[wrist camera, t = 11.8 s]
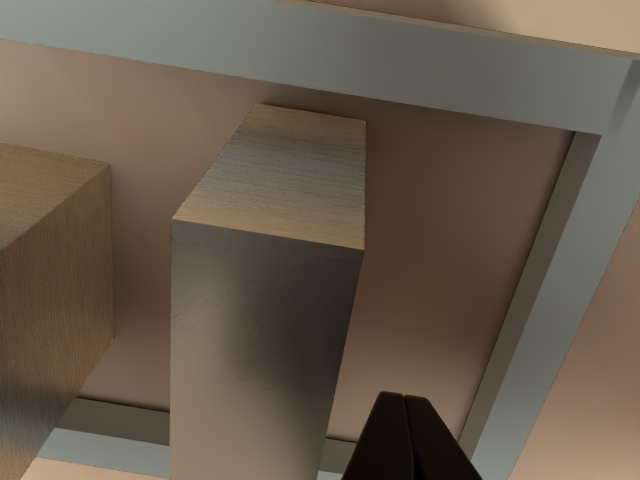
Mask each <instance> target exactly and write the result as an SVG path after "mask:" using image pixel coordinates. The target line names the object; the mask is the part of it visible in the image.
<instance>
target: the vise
mask: <svg viewBox="0 0 640 480" xmlns="http://www.w3.org/2000/svg"><path fill="white" fill-rule="evenodd" d="M0 39H6V40H12V41H18V42H24V43H30V44H37V45H43V46H49V47H55V48H62V49H68V50H74V51H80V52H87V53H93V54H99V55H105V56H111V57H118V58H124V59H130V60H136V61H143V62H149V63H155V64H161V65H168V66H174V67H180V68H186V69H193V70H199V71H205V72H211V73H217V74H224V75H230V76H236V77H242V78H249V79H255V80H261V81H267V82H274V83H280V84H286V85H292V86H298V87H305V88H311V89H317V90H323V91H330V92H336V93H342V94H348V95H355V96H361V97H367V98H373V99H379V100H386V101H392V102H398V103H404V104H411V105H417V106H423V107H429V108H436V109H442V110H448V111H454V112H461V113H467V114H473V115H479V116H485V117H492V118H498V119H504V120H510V121H517V122H523V123H529V124H535V125H542V126H548V127H554V128H560V129H566V130H573V131H576V133H575V135H574V138H573V141H572V143H571V146H570V149H569V151H568V154H567V156H566V159H565V162H564V164H563V167H562V170H561V172H560V175H559V178H558V180H557V183H556V186H555V188H554V191H553V193H552V196H551V199H550V201H549V204H548V207H547V209H546V212H545V215H544V217H543V220H542V223H541V225H540V228H539V230H538V233H537V236H536V238H535V241H534V244H533V246H532V249H531V252H530V254H529V257H528V260H527V262H526V265H525V267H524V270H523V273H522V275H521V278H520V281H519V283H518V286H517V289H516V291H515V294H514V297H513V299H512V302H511V304H510V307H509V310H508V312H507V315H506V318H505V320H504V323H503V326H502V328H501V331H500V334H499V336H498V339H497V341H496V344H495V347H494V349H493V352H492V355H491V357H490V360H489V363H488V365H487V368H486V371H485V373H484V376H483V378H482V381H481V384H480V386H479V389H478V392H477V394H476V397H475V400H474V402H473V405H472V408H471V410H470V413H469V415H468V418H467V421H466V423H465V426H464V429H463V431H462V434H461V437H460V439H459V442H458V444H459V445H460V447H461V448H462V450H463V451H464V453H465V454H466V455H467V457H468V458H469V460H470V461H471V463H472V464H473V466H474V467H475V469H476V470H477V472H478V473H479V474H480V476H481V477H482V479H483V480H508V479H509V476H510V474H511V472H512V470H513V468H514V466H515V463H516V461H517V459H518V457H519V455H520V453H521V451H522V448H523V446H524V444H525V442H526V440H527V438H528V435H529V433H530V431H531V429H532V427H533V425H534V423H535V420H536V418H537V416H538V414H539V412H540V410H541V407H542V405H543V403H544V401H545V399H546V397H547V395H548V392H549V390H550V388H551V386H552V384H553V382H554V379H555V377H556V375H557V373H558V371H559V369H560V367H561V364H562V362H563V360H564V358H565V356H566V354H567V351H568V349H569V347H570V345H571V343H572V341H573V339H574V336H575V334H576V332H577V330H578V328H579V326H580V323H581V321H582V319H583V317H584V315H585V313H586V311H587V308H588V306H589V304H590V302H591V300H592V298H593V295H594V293H595V291H596V289H597V287H598V285H599V283H600V280H601V278H602V276H603V274H604V272H605V270H606V267H607V265H608V263H609V261H610V259H611V257H612V255H613V252H614V250H615V248H616V246H617V244H618V242H619V239H620V237H621V235H622V233H623V231H624V229H625V227H626V224H627V222H628V220H629V218H630V216H631V214H632V211H633V209H634V207H635V205H636V203H637V201H638V199H639V196H640V54H637V53H631V52H625V51H618V50H612V49H606V48H600V47H593V46H587V45H581V44H575V43H568V42H562V41H556V40H550V39H543V38H537V37H531V36H525V35H518V34H512V33H506V32H500V31H493V30H487V29H481V28H475V27H468V26H462V25H456V24H450V23H443V22H437V21H431V20H425V19H418V18H412V17H406V16H400V15H393V14H387V13H381V12H375V11H368V10H362V9H356V8H349V7H343V6H337V5H331V4H324V3H318V2H312V1H306V0H0ZM356 444H357V443H351V442H345V441H339V440H333V439H327V438H325V442H324V447H323V452H322V457H321V462H320V466H319V471H318V476H317V480H341V478H342V476H343V474H344V472H345V469H346V467H347V465H348V462H349V460H350V458H351V456H352V453H353V451H354V449H355V447H356ZM36 457H39V458H45V459H51V460H57V461H64V462H70V463H76V464H82V465H88V466H94V467H100V468H106V469H113V470H119V471H125V472H131V473H137V474H143V475H149V476H155V477H162V478H168V479H169V458H170V413H167V412H161V411H155V410H148V409H142V408H136V407H130V406H124V405H118V404H112V403H105V402H99V401H93V400H87V399H81V398H74V399H73V401H72V402H71V404H70V405H69V407H68V408H67V410H66V411H65V413H64V415H63V416H62V418H61V419H60V421H59V422H58V424H57V425H56V427H55V428H54V430H53V431H52V433H51V434H50V436H49V437H48V439H47V440H46V442H45V443H44V445H43V446H42V448H41V449H40V451H39V452H38V454H37V455H36Z"/></svg>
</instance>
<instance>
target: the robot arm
mask: <svg viewBox="0 0 640 480" xmlns="http://www.w3.org/2000/svg"><path fill="white" fill-rule="evenodd" d="M341 480H483V479H482V477H481V476H480V474H479V473H478V472H477V470H476V469H475V467H474V466H473V464H472V463H471V461H470V460H469V458H468V457H467V455H466V454H465V453H464V451H463V450H462V448H461V447H460V445H459V444H458V442H457V441H456V439H455V438H454V436H453V435H452V434H451V432H450V431H449V429H448V428H447V426H446V425H445V423H444V422H443V420H442V419H441V418H440V416H439V415H438V413H437V412H436V410H435V409H434V407H433V406H432V404H431V403H430V402H429V400H428V399H426V398H424V397H419V396H413V395H404V396H403V395H402V394H400V393H393V392H387V391H381V392H380V393H379V394H378V397H377V399H376V401H375V403H374V406H373V408H372V410H371V412H370V415H369V417H368V419H367V422H366V424H365V426H364V428H363V431H362V433H361V435H360V437H359V440H358V442H357V444H356V447H355V449H354V451H353V453H352V456H351V458H350V460H349V462H348V465H347V467H346V469H345V472H344V474H343V476H342V478H341Z"/></svg>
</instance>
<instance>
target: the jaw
mask: <svg viewBox="0 0 640 480" xmlns="http://www.w3.org/2000/svg"><path fill="white" fill-rule="evenodd" d="M365 159H366V121H364V120H358V119H352V118H345V117H339V116H333V115H327V114H320V113H314V112H308V111H302V110H296V109H289V108H283V107H277V106H271V105H264V104H258V103H257V104H256V105H255V106H254V108H253V109H252V110H251V112H250V113H249V114H248V116H247V117H246V119H245V120H244V121H243V123H242V124H241V125H240V127H239V128H238V129H237V131H236V132H235V133H234V135H233V136H232V137H231V139H230V140H229V142H228V143H227V144H226V146H225V147H224V148H223V150H222V151H221V152H220V154H219V155H218V156H217V158H216V159H215V160H214V162H213V163H212V165H211V166H210V167H209V169H208V170H207V171H206V173H205V174H204V175H203V177H202V178H201V179H200V181H199V182H198V183H197V185H196V186H195V188H194V189H193V190H192V192H191V193H190V194H189V196H188V197H187V198H186V200H185V201H184V202H183V204H182V205H181V206H180V208H179V209H178V211H177V212H176V213H175V215H174V216H173V217H172V219H171V333H170V458H169V480H317V476H318V471H319V466H320V462H321V457H322V452H323V447H324V442H325V437H326V433H327V428H328V423H329V418H330V413H331V408H332V404H333V399H334V394H335V389H336V384H337V379H338V375H339V370H340V365H341V360H342V355H343V350H344V345H345V341H346V336H347V331H348V326H349V321H350V316H351V312H352V307H353V302H354V297H355V292H356V287H357V283H358V278H359V273H360V268H361V263H362V258H363V254H364V232H365Z"/></svg>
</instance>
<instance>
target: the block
mask: <svg viewBox="0 0 640 480" xmlns="http://www.w3.org/2000/svg"><path fill="white" fill-rule="evenodd" d="M113 339H114V302H113V263H112V224H111V185H110V163H107V162H101V161H96V160H90V159H85V158H79V157H74V156H68V155H63V154H57V153H52V152H47V151H41V150H36V149H30V148H25V147H19V146H14V145H8V144H3V143H0V480H20V479H21V478H22V476H23V475H24V473H25V472H26V470H27V469H28V467H29V466H30V464H31V463H32V461H33V460H34V458H35V457H36V455H37V454H38V452H39V451H40V449H41V448H42V446H43V445H44V443H45V442H46V440H47V439H48V437H49V436H50V434H51V433H52V431H53V430H54V428H55V427H56V425H57V424H58V422H59V421H60V419H61V418H62V416H63V415H64V413H65V411H66V410H67V408H68V407H69V405H70V404H71V402H72V401H73V399H74V398H75V396H76V395H77V393H78V392H79V390H80V389H81V387H82V386H83V384H84V383H85V381H86V380H87V378H88V377H89V375H90V374H91V372H92V371H93V369H94V368H95V366H96V365H97V363H98V362H99V360H100V359H101V357H102V356H103V354H104V353H105V351H106V350H107V348H108V347H109V345H110V344H111V342H112V341H113Z"/></svg>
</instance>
